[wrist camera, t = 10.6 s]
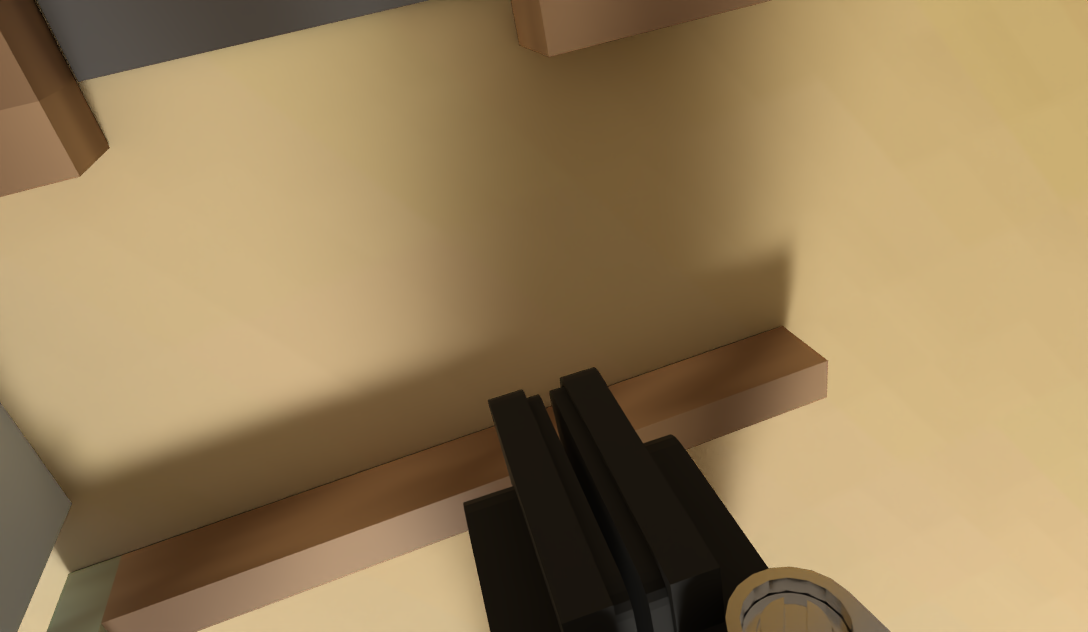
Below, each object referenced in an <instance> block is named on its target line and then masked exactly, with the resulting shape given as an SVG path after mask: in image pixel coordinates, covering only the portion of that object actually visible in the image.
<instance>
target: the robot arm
mask: <svg viewBox="0 0 1088 632" xmlns="http://www.w3.org/2000/svg"><path fill="white" fill-rule="evenodd" d="M560 385H561V388H558V389H555V390H551V391H550V399H551V403H552V408H553V412H554V416H555V421H556V425H557V429H558V434H559V437H558V435H557V432H556V430H555V428H554V426H553V423H552V421H551V419H550V417H549V415H548V412H547V410H546V408H545V406H544V404H543V401H542V399H541V397H540V395H535V396H532V397H529V398H526V396H525V393H524V391H523V390H519V391H516V392H512V393H509V394H506V395H503V396H499V397H496V398H493V399H490V400H488V403H489V407H490V410H491V414H492V417H493V421H494V424H495V428H496V431H497V435H498V438H499V442H500V445H501V449H502V452H503V456H504V459H505V463H506V466H507V470H508V473H509V477H510V480H511V484H512V487H509V488H506V489H503V490H499V491H496V492H493V493H490V494H487V495H484V496H481V497H478V498H475V499H472V500H469V501H466V502H463V506H464V512H465V517H466V521H467V526H468V530H469V535H470V540H471V544H472V549H473V553H474V558H475V563H476V567H477V572H478V576H479V581H480V586H481V590H482V595H483V599H484V604H485V609H486V613H487V618H488V622H489V627H490V632H890V631H889V630H888V629H887V628H886V627H885V626H884V625H883V624H882V623H881V622H880V621H879V620H878V619H877V618H876V617H875V616H874V615H873V614H872V613H871V612H870V611H868V610H867V609H866V608H865V607H864V606H863V605H862V604H861V603H860V602H859V601H858V600H857V599H856V598H855V597H854V596H853V595H852V594H851V593H850V592H849V591H847V590H846V589H845V588H843V587H842V586H840V585H839V584H838V583H836V582H835V581H834V580H832V579H831V578H828V577H826V576H824V575H821V574H819V573H817V572H814V571H812V570H807V569H801V568H795V567H779V568H768V567H767V565H766V564H765V563H764V561H763V560H762V558H761V557H760V555H759V554H758V553H757V551H756V550H755V548H754V547H753V545H752V544H751V543H750V541H749V540H748V538H747V537H746V535H745V534H744V533H743V531H742V530H741V528H740V527H739V525H738V524H737V523H736V521H735V520H734V518H733V517H732V515H731V514H730V513H729V511H728V510H727V508H726V507H725V505H724V504H723V503H722V501H721V500H720V498H719V497H718V496H717V494H716V493H715V491H714V490H713V488H712V487H711V486H710V484H709V483H708V481H707V480H706V478H705V477H704V476H703V474H702V473H701V471H700V470H699V468H698V467H697V466H696V464H695V463H694V461H693V460H692V458H691V457H690V456H689V454H688V453H687V451H686V450H685V448H684V447H683V446H682V444H681V443H680V442H679V440H678V439H677V438H676V437H675V436H673V435H671V434H670V435H667V436H664V437H661V438H658V439H655V440H652V441H648V442H645V443H643V442H642V441H641V439H640V437H639V436H638V434H637V433H636V431H635V429H634V428H633V426H632V425H631V423H630V421H629V420H628V418H627V417H626V415H625V413H624V412H623V410H622V408H621V407H620V405H619V404H618V402H617V400H616V399H615V397H614V396H613V394H612V392H611V391H610V389H609V388H608V386H607V384H606V383H605V381H604V380H603V378H602V376H601V375H600V373H599V372H598V370H597V369H596V368H595V367H593V368H590V369H586V370H583V371H580V372H577V373H574V374H570V375H567V376H564V377H561V378H560ZM559 438H560V439H559Z"/></svg>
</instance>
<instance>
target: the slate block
mask: <svg viewBox="0 0 1088 632" xmlns="http://www.w3.org/2000/svg"><path fill="white" fill-rule="evenodd" d="M71 504H72V503H71V502H70V500H69V499H68V497H67V496H66V494H65V493H64V492H63V490H62V489H61V487H60V486H59V485H58V483H57V482H56V480H55V479H54V478H53V476H52V475H51V473H50V472H49V470H48V469H47V468H46V466H45V465H44V463H43V462H42V461H41V459H40V458H39V456H38V455H37V453H36V452H35V451H34V449H33V448H32V446H31V445H30V444H29V442H28V441H27V439H26V438H25V437H24V435H23V434H22V432H21V431H20V429H19V428H18V427H17V425H16V424H15V422H14V421H13V420H12V418H11V417H10V415H9V414H8V412H7V411H6V410H5V408H4V407H3V405H2V404H1V403H0V632H17V631H18V629H19V626H20V624H21V622H22V619H23V617H24V615H25V612H26V610H27V608H28V605H29V603H30V601H31V598H32V596H33V594H34V591H35V589H36V587H37V584H38V582H39V580H40V577H41V575H42V572H43V570H44V568H45V565H46V563H47V561H48V558H49V556H50V554H51V551H52V549H53V547H54V544H55V542H56V540H57V537H58V535H59V533H60V530H61V528H62V525H63V523H64V521H65V518H66V516H67V514H68V511H69V509H70V507H71Z"/></svg>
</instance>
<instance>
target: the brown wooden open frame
mask: <svg viewBox="0 0 1088 632" xmlns="http://www.w3.org/2000/svg"><path fill="white" fill-rule="evenodd" d="M37 1H38V3H39V5H40V7H41V9H42V11H43V13H44V15H45V17H46V19H47V21H48V23H49V25H50V27H51V29H52V31H53V33H54V35H55V37H56V39H57V41H58V42H59V44H60V46H61V48H62V50H63V52H64V54H65V56H66V58H67V60H68V62H69V64H70V66H71V68H72V70H73V72H74V74H75V76H76V78H77V80H78V82H80V81H84V80H88V79H93V78H97V77H101V76H106V75H110V74H114V73H118V72H123V71H127V70H131V69H136V68H140V67H144V66H149V65H153V64H157V63H161V62H166V61H170V60H174V59H179V58H183V57H187V56H192V55H196V54H200V53H204V52H209V51H213V50H217V49H222V48H226V47H230V46H234V45H239V44H243V43H247V42H252V41H256V40H260V39H265V38H269V37H273V36H277V35H282V34H286V33H290V32H295V31H299V30H303V29H308V28H312V27H316V26H320V25H325V24H329V23H333V22H338V21H342V20H346V19H351V18H355V17H359V16H363V15H368V14H372V13H376V12H381V11H385V10H389V9H394V8H398V7H402V6H406V5H411V4H415V3H419V2H424V1H428V0H37ZM766 1H770V0H511V4H512V9H513V14H514V19H515V24H516V30H517V35H518V40H519V45H520V46H523V47H525V48H528V49H530V50H533V51H535V52H538V53H540V54H543V55H545V56H548V57H551V56H555V55H559V54H562V53H566V52H570V51H574V50H578V49H582V48H586V47H590V46H594V45H598V44H602V43H606V42H610V41H613V40H617V39H621V38H625V37H629V36H633V35H637V34H641V33H645V32H649V31H653V30H657V29H661V28H664V27H668V26H672V25H676V24H680V23H684V22H688V21H692V20H696V19H700V18H704V17H708V16H712V15H715V14H719V13H723V12H727V11H731V10H735V9H739V8H743V7H747V6H751V5H755V4H759V3H763V2H766ZM109 148H110V147H109V145H108V143H107V142H106V140H105V138H104V136H103V134H102V132H101V130H100V128H99V126H98V124H97V122H96V120H95V118H94V116H93V114H92V112H91V110H90V108H89V106H88V104H87V103H86V101H85V99H84V97H83V95H82V93H81V91H80V89H79V87H78V85H77V83H76V81H75V79H74V77H73V75H72V73H71V71H70V69H69V67H68V65H67V63H66V62H65V60H64V58H63V56H62V54H61V52H60V50H59V48H58V46H57V44H56V42H55V40H54V38H53V36H52V34H51V32H50V30H49V28H48V26H47V24H46V22H45V21H44V19H43V17H42V15H41V13H40V11H39V9H38V7H37V5H36V3H35V1H34V0H0V197H2V196H6V195H9V194H13V193H17V192H21V191H25V190H29V189H33V188H37V187H41V186H45V185H49V184H53V183H57V182H60V181H64V180H68V179H72V178H76V177H80V176H81V175H82V174H83V173H84V172H85V171H86V170H87V169H88V168H89V167H90V166H91V165H92V164H93V163H94V162H95V161H96V160H97V159H98V158H99V157H101V156H102V155H103V154H104V153H105V152H106V151H107V150H108V149H109ZM827 375H828V360H826V359H825V358H824V357H822V356H821V355H820V354H819V353H817V352H816V351H815V350H813V349H812V348H811V347H809V346H808V345H807V344H805V343H804V342H803V341H802V340H800V339H799V338H798V337H796V336H795V335H794V334H792V333H791V332H790V331H788V330H787V329H786V328H784V327H783V326H781V327H778V328H775V329H772V330H769V331H767V332H764V333H761V334H758V335H755V336H752V337H749V338H746V339H744V340H741V341H738V342H735V343H732V344H729V345H726V346H723V347H720V348H718V349H715V350H712V351H709V352H706V353H703V354H700V355H697V356H695V357H692V358H689V359H686V360H683V361H680V362H677V363H674V364H672V365H669V366H666V367H663V368H660V369H657V370H654V371H651V372H648V373H646V374H643V375H640V376H637V377H634V378H631V379H628V380H625V381H623V382H620V383H617V384H614V385H611V386H608V388H609V389H610V391H611V392H612V394H613V396H614V397H615V399H616V400H617V402H618V404H619V405H620V407H621V408H622V410H623V412H624V413H625V415H626V417H627V418H628V420H629V421H630V423H631V425H632V426H633V428H634V429H635V431H636V433H637V434H638V436H639V437H640V439H641V441H642V442H643V443H645V442H648V441H652V440H655V439H658V438H661V437H664V436H667V435H670V434H671V435H673V436H675V437H676V438H677V439H678V440H679V442H680V443H681V444H682V446H683V447H684V448H685V450H686V449H689V448H691V447H694V446H697V445H700V444H702V443H705V442H708V441H710V440H713V439H716V438H718V437H721V436H724V435H726V434H729V433H732V432H735V431H737V430H740V429H743V428H745V427H748V426H751V425H753V424H756V423H759V422H761V421H764V420H767V419H769V418H772V417H775V416H778V415H780V414H783V413H786V412H788V411H791V410H794V409H796V408H799V407H802V406H804V405H807V404H810V403H813V402H815V401H818V400H821V399H823V398H826V397H827ZM546 410H547V412H548V415H549V417H550V419H551V421H552V423H553V426H554V428H555V430H556V432H557V435H558V437H559V434H558V429H557V425H556V421H555V416H554V412H553V408H552V406H551V407H548V408H546ZM559 439H560V438H559ZM509 487H512V484H511V480H510V477H509V473H508V470H507V466H506V463H505V459H504V456H503V452H502V449H501V445H500V442H499V438H498V435H497V431H496V428H495V426H493V427H490V428H487V429H484V430H481V431H479V432H476V433H473V434H470V435H467V436H464V437H461V438H458V439H455V440H453V441H450V442H447V443H444V444H441V445H438V446H435V447H432V448H430V449H427V450H424V451H421V452H418V453H415V454H412V455H409V456H407V457H404V458H401V459H398V460H395V461H392V462H389V463H386V464H383V465H381V466H378V467H375V468H372V469H369V470H366V471H363V472H360V473H358V474H355V475H352V476H349V477H346V478H343V479H340V480H337V481H335V482H332V483H329V484H326V485H323V486H320V487H317V488H314V489H311V490H309V491H306V492H303V493H300V494H297V495H294V496H291V497H288V498H286V499H283V500H280V501H277V502H274V503H271V504H268V505H265V506H263V507H260V508H257V509H254V510H251V511H248V512H245V513H242V514H239V515H237V516H234V517H231V518H228V519H225V520H222V521H219V522H216V523H214V524H211V525H208V526H205V527H202V528H199V529H196V530H193V531H190V532H188V533H185V534H182V535H179V536H176V537H173V538H170V539H167V540H165V541H162V542H159V543H156V544H153V545H150V546H147V547H144V548H142V549H139V550H136V551H133V552H130V553H127V554H124V555H121V556H118V557H116V558H113V559H110V560H107V561H104V562H101V563H98V564H95V565H93V566H90V567H87V568H84V569H81V570H78V571H75V572H72V573H70V574H68V577H67V580H66V582H65V585H64V588H63V590H62V593H61V595H60V598H59V601H58V603H57V606H56V608H55V611H54V614H53V616H52V619H51V622H50V624H49V627H48V629H47V632H197V631H199V630H202V629H205V628H207V627H210V626H213V625H215V624H218V623H221V622H223V621H226V620H229V619H232V618H234V617H237V616H240V615H242V614H245V613H248V612H250V611H253V610H256V609H258V608H261V607H264V606H266V605H269V604H272V603H275V602H277V601H280V600H283V599H285V598H288V597H291V596H293V595H296V594H299V593H301V592H304V591H307V590H310V589H312V588H315V587H318V586H320V585H323V584H326V583H328V582H331V581H334V580H336V579H339V578H342V577H344V576H347V575H350V574H353V573H355V572H358V571H361V570H363V569H366V568H369V567H371V566H374V565H377V564H379V563H382V562H385V561H388V560H390V559H393V558H396V557H398V556H401V555H404V554H406V553H409V552H412V551H414V550H417V549H420V548H422V547H425V546H428V545H431V544H433V543H436V542H439V541H441V540H444V539H447V538H449V537H452V536H455V535H457V534H460V533H463V532H466V531H468V526H467V521H466V517H465V512H464V506H463V502H466V501H469V500H472V499H475V498H478V497H481V496H484V495H487V494H490V493H493V492H496V491H499V490H503V489H506V488H509Z"/></svg>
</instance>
